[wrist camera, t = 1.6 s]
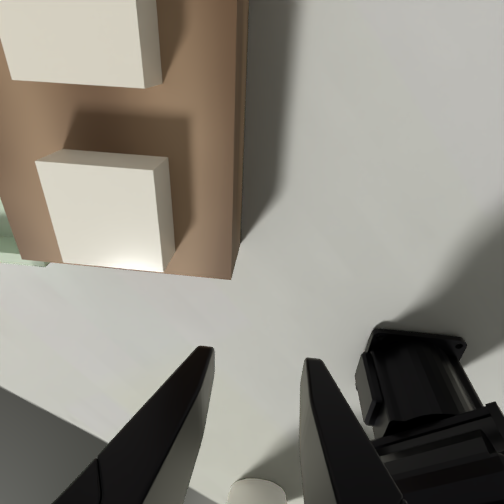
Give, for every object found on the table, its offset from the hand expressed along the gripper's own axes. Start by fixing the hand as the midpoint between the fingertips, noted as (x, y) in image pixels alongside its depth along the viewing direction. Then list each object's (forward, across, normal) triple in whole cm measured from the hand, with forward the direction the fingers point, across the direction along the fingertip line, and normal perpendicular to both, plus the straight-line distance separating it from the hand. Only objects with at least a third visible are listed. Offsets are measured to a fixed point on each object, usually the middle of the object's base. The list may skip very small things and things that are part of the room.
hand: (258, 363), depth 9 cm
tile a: (+9, +8, 0) cm, 12 cm away
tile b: (+9, +8, -8) cm, 14 cm away
